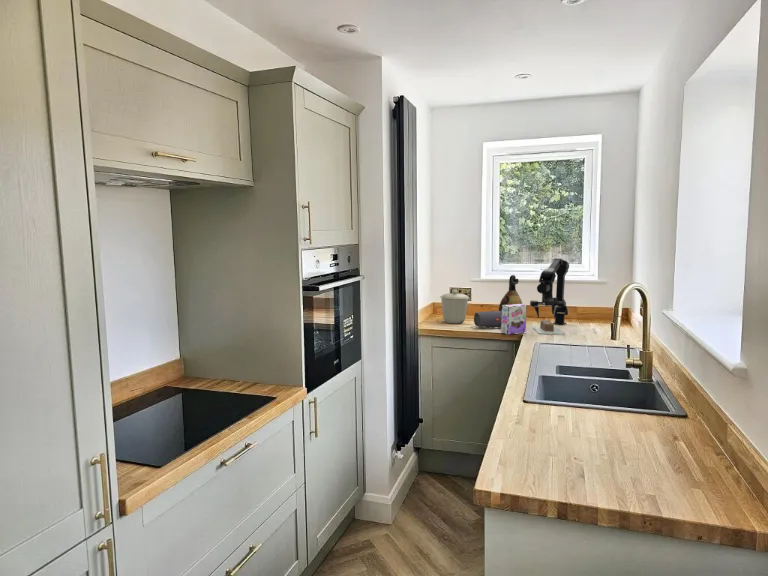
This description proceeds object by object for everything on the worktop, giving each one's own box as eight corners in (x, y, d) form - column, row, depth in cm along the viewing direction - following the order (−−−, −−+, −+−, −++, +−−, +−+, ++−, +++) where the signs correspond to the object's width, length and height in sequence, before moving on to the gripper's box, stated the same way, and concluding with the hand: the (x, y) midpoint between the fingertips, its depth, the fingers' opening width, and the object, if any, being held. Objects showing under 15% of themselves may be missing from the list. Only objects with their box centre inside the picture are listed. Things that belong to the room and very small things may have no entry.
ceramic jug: (525, 323, 335) (527, 276, 331) (501, 323, 335) (502, 276, 331) (519, 318, 352) (520, 274, 348) (495, 318, 352) (497, 273, 348)
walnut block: (540, 319, 317) (544, 323, 304) (549, 320, 316) (553, 324, 303) (540, 327, 317) (544, 331, 304) (548, 327, 317) (553, 331, 304)
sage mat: (532, 327, 322) (532, 325, 322) (555, 327, 321) (555, 326, 321) (538, 334, 300) (538, 332, 300) (564, 334, 299) (564, 333, 299)
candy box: (507, 335, 297) (508, 306, 295) (500, 333, 302) (501, 304, 301) (525, 333, 304) (527, 304, 302) (518, 331, 309) (520, 303, 307)
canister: (472, 321, 338) (473, 289, 336) (461, 326, 323) (462, 292, 321) (447, 319, 348) (448, 287, 346) (434, 323, 333) (435, 289, 331)
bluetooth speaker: (479, 329, 312) (480, 313, 311) (473, 326, 321) (473, 310, 320) (514, 328, 319) (514, 311, 318) (506, 325, 328) (506, 309, 326)
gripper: (533, 293, 304) (532, 319, 306) (566, 293, 302) (565, 320, 304) (530, 291, 315) (529, 316, 317) (562, 291, 313) (561, 317, 315)
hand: (546, 318), depth 313 cm, fingers open, 9 cm apart
